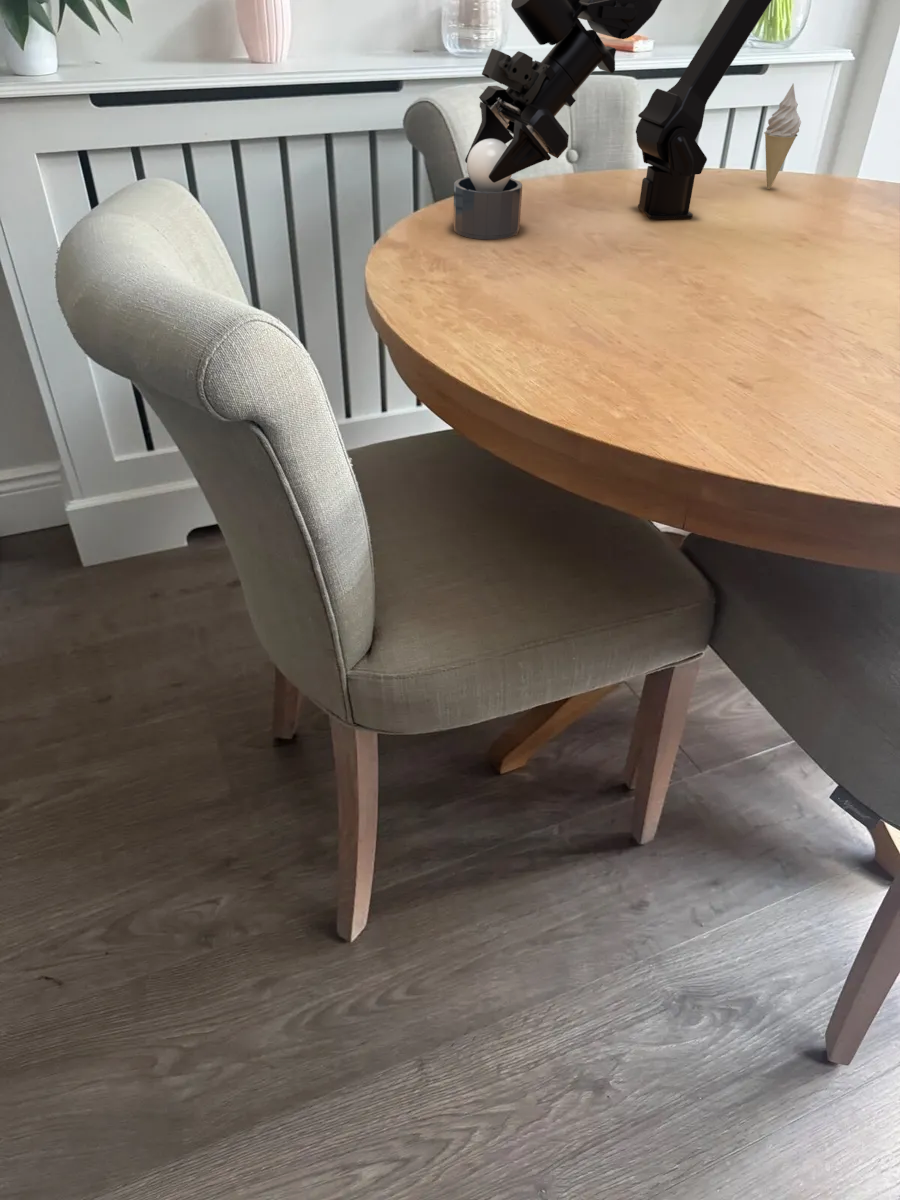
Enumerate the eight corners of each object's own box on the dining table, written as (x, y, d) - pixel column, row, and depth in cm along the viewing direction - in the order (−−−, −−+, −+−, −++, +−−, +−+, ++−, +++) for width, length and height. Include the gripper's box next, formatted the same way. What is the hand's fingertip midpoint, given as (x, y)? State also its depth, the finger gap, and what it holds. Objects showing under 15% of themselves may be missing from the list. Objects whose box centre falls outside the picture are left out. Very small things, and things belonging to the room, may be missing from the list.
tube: (511, 219, 127) (514, 174, 123) (525, 238, 120) (528, 191, 116) (449, 221, 125) (449, 176, 122) (459, 240, 118) (460, 193, 115)
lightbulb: (478, 234, 119) (481, 145, 112) (457, 222, 123) (459, 136, 116) (518, 229, 121) (523, 141, 114) (497, 217, 126) (500, 132, 119)
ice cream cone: (788, 193, 140) (814, 86, 130) (756, 192, 140) (780, 85, 130) (779, 185, 144) (804, 80, 134) (749, 184, 144) (771, 80, 134)
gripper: (496, 14, 115) (417, 113, 119) (554, 31, 101) (462, 141, 105) (546, 81, 122) (470, 171, 126) (606, 105, 108) (518, 206, 112)
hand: (478, 171), depth 117 cm, fingers open, 9 cm apart
